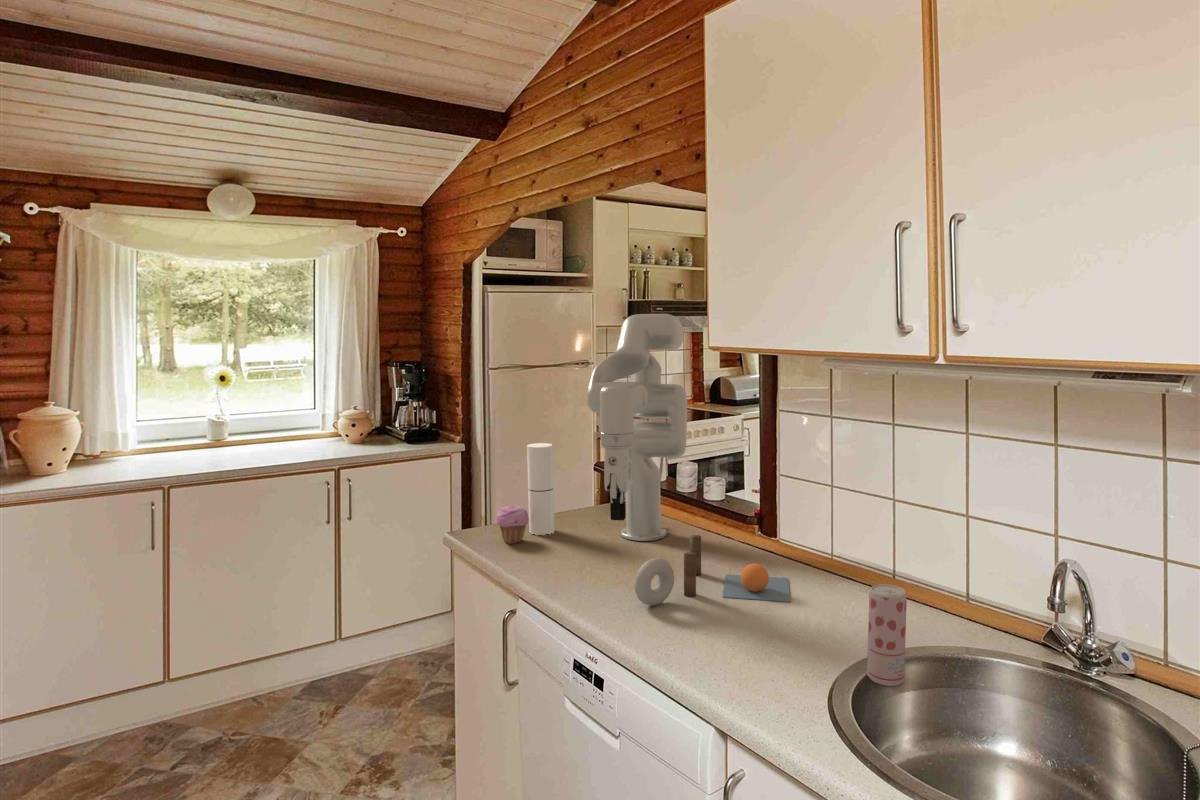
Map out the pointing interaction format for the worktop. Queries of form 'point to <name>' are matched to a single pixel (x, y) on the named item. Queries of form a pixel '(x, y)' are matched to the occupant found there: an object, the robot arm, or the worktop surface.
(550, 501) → the cylindrical container
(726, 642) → the worktop surface
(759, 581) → the ball
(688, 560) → the post
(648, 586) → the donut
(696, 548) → the post
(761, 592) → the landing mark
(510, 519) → the cupcake
